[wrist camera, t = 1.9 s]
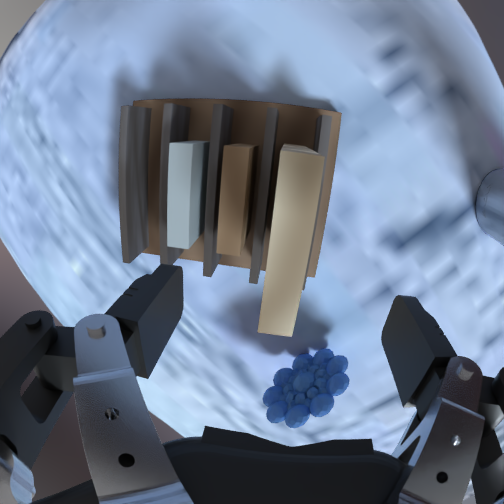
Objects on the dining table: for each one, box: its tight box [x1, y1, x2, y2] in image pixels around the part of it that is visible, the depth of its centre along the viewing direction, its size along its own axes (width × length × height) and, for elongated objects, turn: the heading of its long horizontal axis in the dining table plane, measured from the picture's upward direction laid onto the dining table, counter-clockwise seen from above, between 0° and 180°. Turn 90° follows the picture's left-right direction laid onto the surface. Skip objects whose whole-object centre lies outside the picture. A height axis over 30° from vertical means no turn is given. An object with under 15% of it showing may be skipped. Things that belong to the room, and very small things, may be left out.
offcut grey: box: [167, 141, 210, 249], centre depth 26 cm, size 2×9×7 cm, turn 175°
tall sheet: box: [258, 143, 325, 337], centre depth 22 cm, size 2×10×16 cm, turn 175°
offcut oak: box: [217, 143, 259, 256], centre depth 26 cm, size 2×9×7 cm, turn 175°
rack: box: [119, 99, 342, 290], centre depth 28 cm, size 22×18×6 cm
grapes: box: [263, 349, 349, 428], centre depth 33 cm, size 12×7×12 cm, turn 116°
